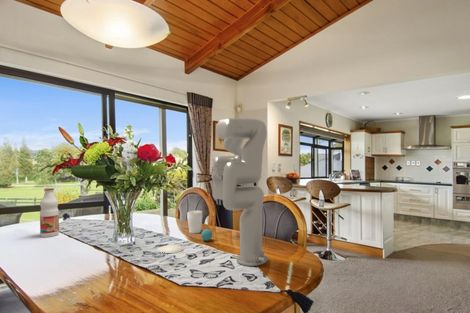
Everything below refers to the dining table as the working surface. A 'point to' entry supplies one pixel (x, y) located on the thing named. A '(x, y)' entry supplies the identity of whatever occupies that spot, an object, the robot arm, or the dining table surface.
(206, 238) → the ball
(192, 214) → the cup
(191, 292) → the dining table surface
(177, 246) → the cream rounded object
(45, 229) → the fruit juice
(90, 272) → the dining table surface
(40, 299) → the dining table surface
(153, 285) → the dining table surface
